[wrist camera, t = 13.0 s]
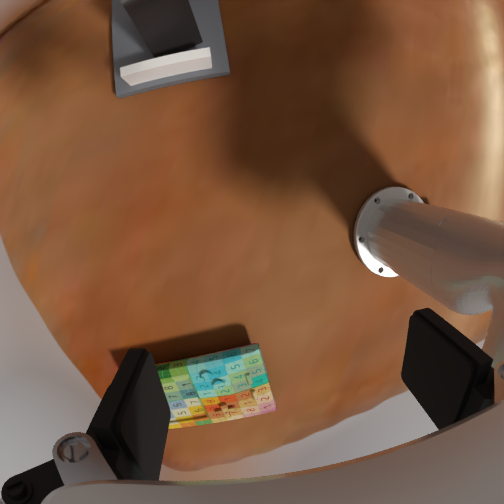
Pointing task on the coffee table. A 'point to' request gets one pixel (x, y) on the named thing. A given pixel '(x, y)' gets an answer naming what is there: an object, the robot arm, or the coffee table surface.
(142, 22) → the phone stand
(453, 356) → the robot arm
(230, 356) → the puzzle game
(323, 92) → the coffee table surface
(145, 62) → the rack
